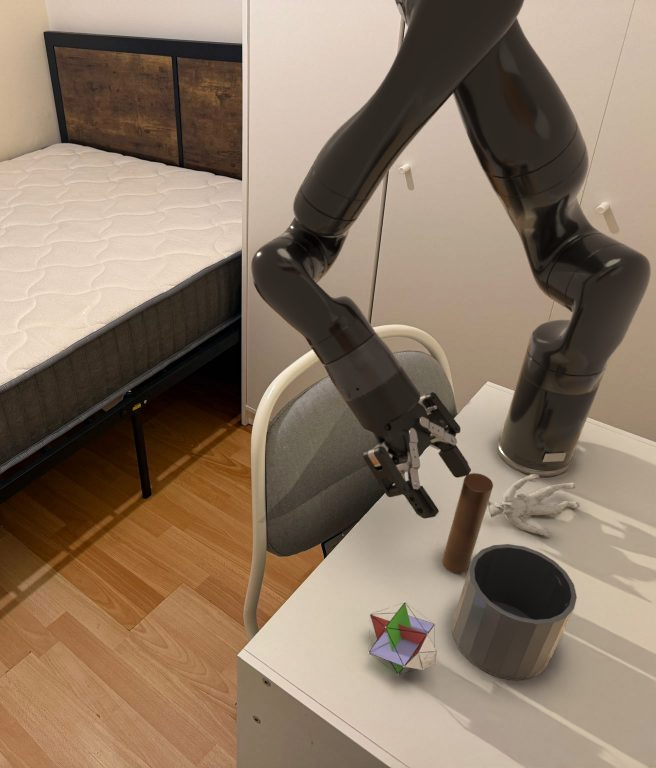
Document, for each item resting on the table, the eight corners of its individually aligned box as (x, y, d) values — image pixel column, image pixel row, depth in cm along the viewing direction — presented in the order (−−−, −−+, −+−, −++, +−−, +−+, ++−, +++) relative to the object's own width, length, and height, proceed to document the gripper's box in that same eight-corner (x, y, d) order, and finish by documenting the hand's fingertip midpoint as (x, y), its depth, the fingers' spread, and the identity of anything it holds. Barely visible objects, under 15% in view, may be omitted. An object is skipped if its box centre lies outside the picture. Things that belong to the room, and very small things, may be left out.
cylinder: (446, 550, 91) (468, 469, 83) (471, 560, 90) (496, 478, 82) (439, 567, 89) (461, 485, 81) (464, 577, 88) (489, 495, 80)
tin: (465, 587, 87) (483, 531, 81) (557, 625, 82) (583, 568, 76) (441, 652, 80) (458, 595, 74) (539, 696, 76) (566, 640, 70)
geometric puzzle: (340, 636, 80) (388, 627, 74) (372, 597, 84) (420, 585, 77) (382, 690, 80) (434, 685, 73) (413, 648, 83) (465, 640, 77)
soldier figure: (586, 529, 94) (525, 541, 88) (551, 530, 98) (490, 541, 93) (573, 469, 95) (512, 476, 90) (539, 473, 99) (479, 480, 94)
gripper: (362, 401, 78) (447, 525, 78) (424, 342, 86) (500, 455, 86) (315, 419, 84) (394, 535, 84) (377, 362, 92) (448, 468, 92)
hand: (448, 494), depth 85 cm, fingers open, 8 cm apart
